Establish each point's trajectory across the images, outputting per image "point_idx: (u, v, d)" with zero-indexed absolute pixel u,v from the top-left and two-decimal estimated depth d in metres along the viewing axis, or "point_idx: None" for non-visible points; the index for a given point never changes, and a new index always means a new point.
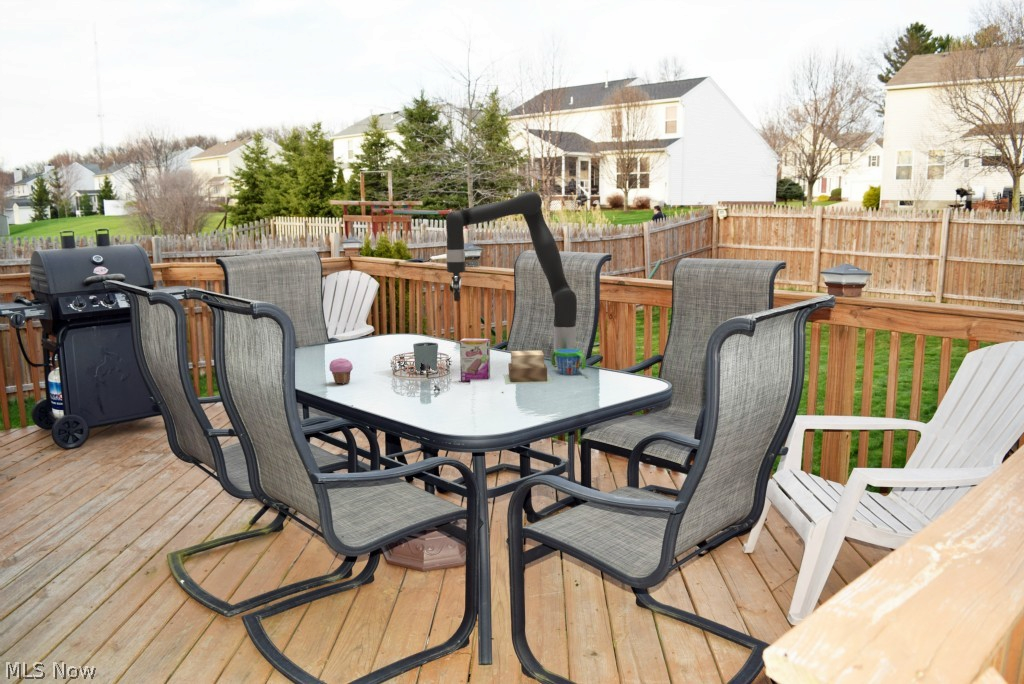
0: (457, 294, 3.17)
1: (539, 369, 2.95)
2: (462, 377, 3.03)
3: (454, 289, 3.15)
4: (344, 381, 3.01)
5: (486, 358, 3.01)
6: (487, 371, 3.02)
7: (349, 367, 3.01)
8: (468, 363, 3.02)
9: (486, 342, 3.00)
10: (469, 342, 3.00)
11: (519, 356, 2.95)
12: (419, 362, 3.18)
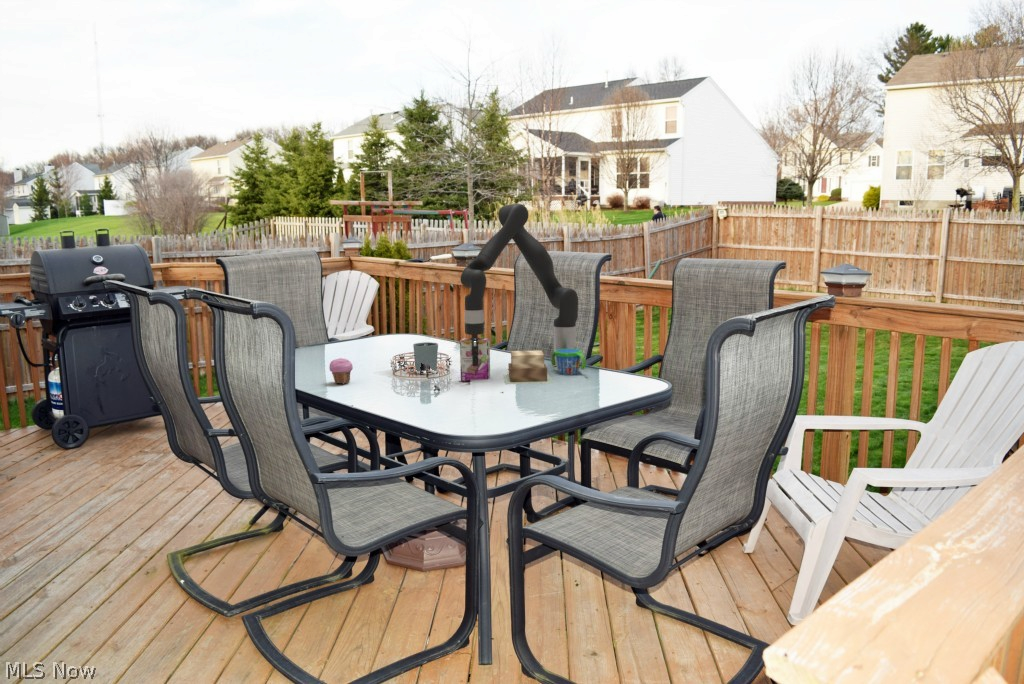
0: (476, 359, 2.99)
1: (539, 369, 2.95)
2: (462, 377, 3.03)
3: (473, 354, 2.97)
4: (344, 381, 3.01)
5: (486, 358, 3.01)
6: (487, 371, 3.02)
7: (349, 367, 3.01)
8: (468, 363, 3.02)
9: (486, 342, 3.00)
10: (469, 342, 3.00)
11: (519, 356, 2.95)
12: (419, 362, 3.18)
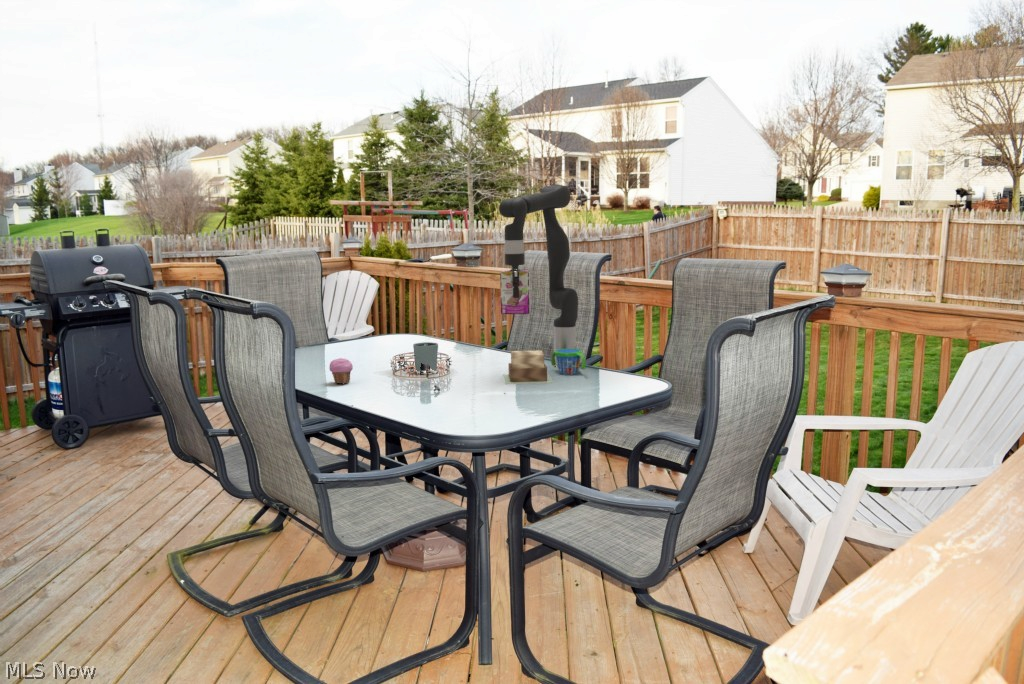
0: (517, 290, 2.93)
1: (539, 369, 2.95)
2: (502, 310, 2.97)
3: (514, 285, 2.91)
4: (344, 381, 3.01)
5: (527, 289, 2.94)
6: (528, 303, 2.95)
7: (349, 367, 3.01)
8: (508, 295, 2.95)
9: (527, 273, 2.93)
10: (509, 273, 2.94)
11: (519, 356, 2.95)
12: (419, 362, 3.18)
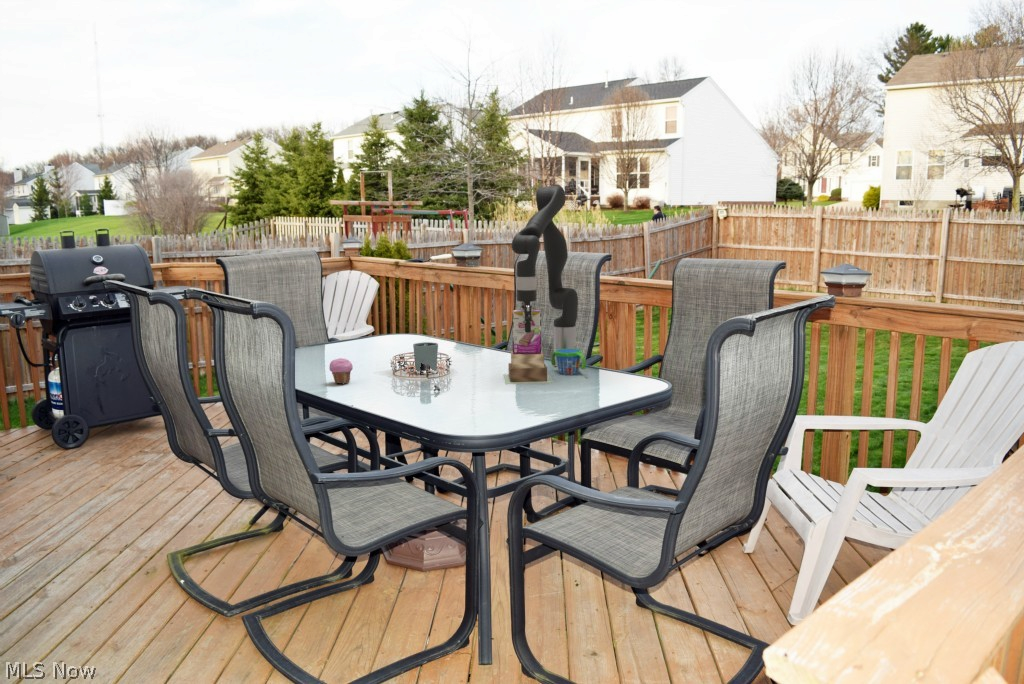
0: (528, 325, 2.93)
1: (539, 369, 2.95)
2: (514, 349, 2.98)
3: (526, 320, 2.91)
4: (344, 381, 3.01)
5: (539, 329, 2.96)
6: (540, 343, 2.97)
7: (349, 367, 3.01)
8: (520, 335, 2.97)
9: (539, 313, 2.95)
10: (522, 313, 2.95)
11: (519, 356, 2.95)
12: (419, 362, 3.18)
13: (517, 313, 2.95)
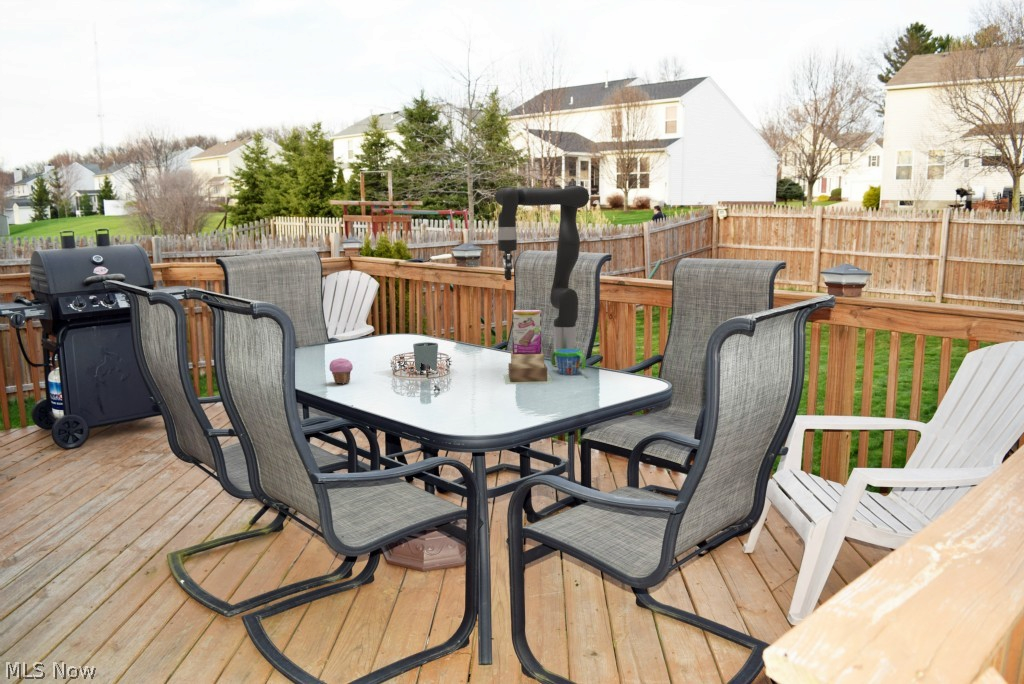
0: (509, 273, 3.08)
1: (539, 369, 2.95)
2: (514, 349, 2.98)
3: (506, 268, 3.06)
4: (344, 381, 3.01)
5: (539, 329, 2.96)
6: (540, 343, 2.97)
7: (349, 367, 3.01)
8: (520, 335, 2.97)
9: (539, 313, 2.95)
10: (522, 313, 2.95)
11: (519, 356, 2.95)
12: (419, 362, 3.18)
13: (517, 313, 2.95)
